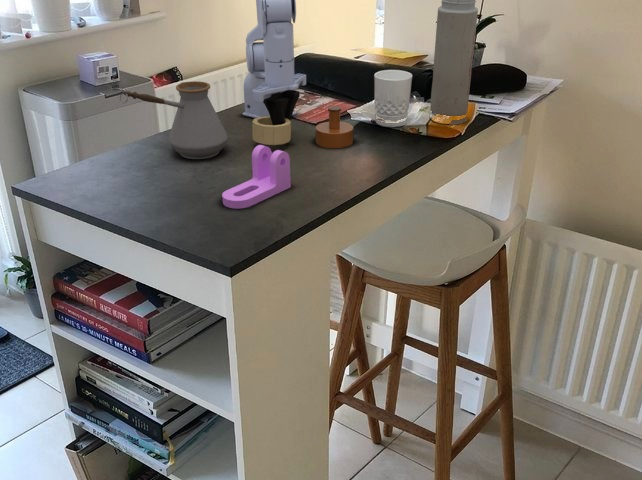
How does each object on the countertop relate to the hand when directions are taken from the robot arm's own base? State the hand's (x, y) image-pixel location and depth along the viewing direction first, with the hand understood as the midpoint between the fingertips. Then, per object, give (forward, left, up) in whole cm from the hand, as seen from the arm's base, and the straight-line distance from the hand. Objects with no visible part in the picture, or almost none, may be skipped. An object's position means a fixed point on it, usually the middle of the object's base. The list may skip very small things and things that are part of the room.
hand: (281, 128), depth 152 cm
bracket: (+13, -24, -3) cm, 28 cm away
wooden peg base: (+9, +6, -3) cm, 11 cm away
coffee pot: (-10, -19, -3) cm, 22 cm away
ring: (0, -3, -1) cm, 3 cm away
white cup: (+12, +23, -3) cm, 26 cm away
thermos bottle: (+21, +32, -3) cm, 38 cm away
